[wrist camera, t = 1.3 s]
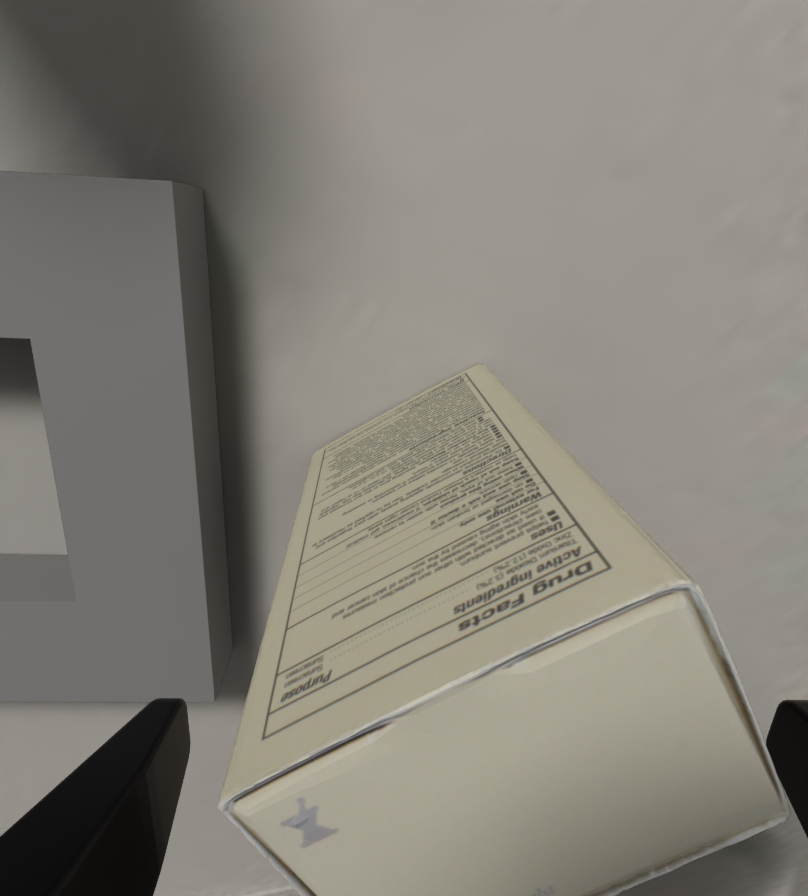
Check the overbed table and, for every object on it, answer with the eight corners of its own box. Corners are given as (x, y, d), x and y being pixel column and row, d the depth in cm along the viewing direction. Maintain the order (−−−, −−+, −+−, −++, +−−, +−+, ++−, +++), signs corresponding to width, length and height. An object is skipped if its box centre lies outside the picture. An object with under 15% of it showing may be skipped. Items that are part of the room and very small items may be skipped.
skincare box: (376, 553, 20) (379, 1004, 8) (306, 447, 18) (190, 814, 7) (545, 468, 19) (810, 836, 7) (486, 349, 17) (704, 578, 6)
